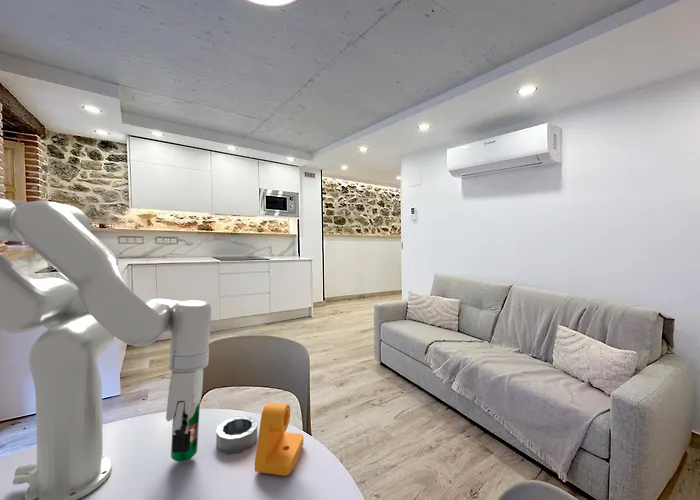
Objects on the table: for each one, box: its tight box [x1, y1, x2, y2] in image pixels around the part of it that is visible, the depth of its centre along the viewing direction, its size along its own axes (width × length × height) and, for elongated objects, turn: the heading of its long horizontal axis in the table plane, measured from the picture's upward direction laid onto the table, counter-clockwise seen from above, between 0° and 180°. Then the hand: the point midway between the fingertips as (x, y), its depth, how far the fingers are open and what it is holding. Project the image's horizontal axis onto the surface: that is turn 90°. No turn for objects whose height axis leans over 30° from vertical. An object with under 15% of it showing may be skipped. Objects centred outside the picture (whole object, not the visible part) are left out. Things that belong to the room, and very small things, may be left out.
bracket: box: [254, 402, 304, 476], centre depth 68 cm, size 11×7×12 cm, turn 171°
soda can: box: [170, 401, 201, 463], centre depth 67 cm, size 5×5×12 cm
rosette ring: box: [215, 415, 258, 455], centre depth 74 cm, size 9×9×4 cm
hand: (184, 441), depth 67 cm, fingers closed on soda can, 5 cm apart
